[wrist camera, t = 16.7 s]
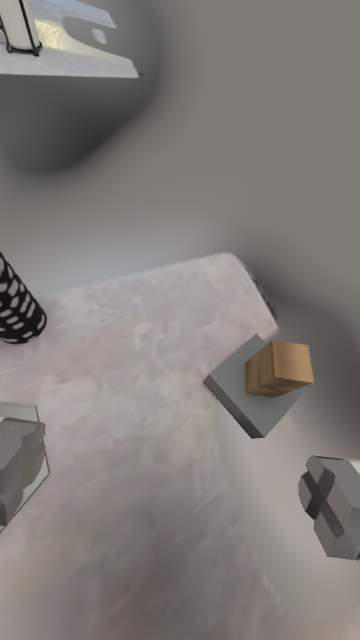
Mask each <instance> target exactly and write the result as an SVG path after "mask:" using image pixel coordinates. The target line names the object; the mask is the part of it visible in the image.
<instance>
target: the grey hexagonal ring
mask: <svg viewBox="0 0 360 640" xmlns="http://www.w3.org/2000/svg"><path fill="white" fill-rule="evenodd" d="M0 417H6V418H8V417H9V418H16V419H23V420H30V421H36V422H39V417H38V412H37V407H36V406H35V405H27V404H18V403H8V402H0ZM41 441H42V442H43V444H44V441H43V438H42V439H41ZM49 474H50V471H49V466H48V461H47V456H46V451H45V456H44V461H43V464H42V466H41V469H40V471H39V474H38V475H37V477H36V479H35V480H34V482H33V483H32V484H31V485H29V486H28V487H26V488H25V489H23V500H22V502H21V504H20V505H19V507H18V509H17V510H16V512H15V514H14V515H13V517H14V516H15V515H16V513H17V512H18V511H19V510H20V509H21V507H22V506H23V505H24V504H25V503H26V501H27V500H28V499H29V498H30V497H31V495H32V494H33V493H34V492H35V490H36V489H37V488H38V487H39V486H40V484H41V483H42V482H43V481H44V480H45V478H46V477H47V476H48V475H49ZM13 517H12V518H13ZM12 518H11V519H12ZM10 521H11V520H10ZM5 527H6V526H0V533H1V531H2V530H3V529H4V528H5Z"/></svg>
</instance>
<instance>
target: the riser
mask: <svg viewBox="0 0 360 640" xmlns="http://www.w3.org/2000/svg"><path fill="white" fill-rule="evenodd" d="M266 345H267V344H266V343H265V342H264V341H263V340H262V339H261V338H260V337H259V336H258V335H257V334H255V335H254V336H253V337H252V338H251V339H250V340H249V341H247V342H246V343H245V344H244V345H243V346H242V347H241V348H239V349H238V350H237V351H236V352H235V353H234V354H233V355H231V356H230V357H229V358H228V359H227V360H226V361H224V362H223V363H222V364H221V365H220V366H219V367H218V368H216V369H215V370H214V371H213V372H212V373H211V374H210V375H209V376H208V377H207V378H206V379H205V380H204V381H203V383H204V384H205V385H206V386H207V387H208V388H209V390H210V391H211V392H212V393H213V394H214V395H215V397H216V398H217V399H218V400H219V401H220V402H221V404H222V405H223V406H224V407H225V408H226V409H227V411H229V413H230V414H231V415H232V416H233V417H234V419H235V420H236V421H237V422H238V423H239V424H240V426H241V427H242V428H243V429H244V430H245V432H246V433H247V434H248V435H249V436H250V437H251V438H252V439H254V438H265V437H266V435H267V434H268V433H269V432H270V431H271V429H272V428H273V427H274V426H275V425H276V424H277V423H278V421H279V420H280V419H281V418H282V417H283V416H284V415H285V413H286V412H287V411H288V410H289V409H290V408H291V406H292V405H293V404H294V403H295V402H296V401H297V399H298V398H299V397H300V396H301V395H302V394H303V392H304V391H305V390H306V389H307V388H308V387H309V386H308V385H307V386H304V387H302V388H299V389H297V390H294V391H291V392H289V393H286V394H284V395H281V396H278V397H268V396H261V395H254V394H247V393H245V363H246V362H247V361H248V360H249V359H250V358H251V357H253V356H254V355H255V354H256V353H257V352H259V351H260V350H261V349H262V348H263V347H264V346H266Z"/></svg>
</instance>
